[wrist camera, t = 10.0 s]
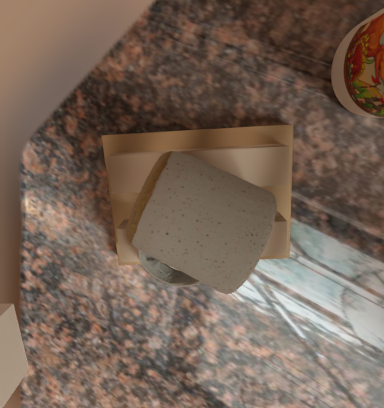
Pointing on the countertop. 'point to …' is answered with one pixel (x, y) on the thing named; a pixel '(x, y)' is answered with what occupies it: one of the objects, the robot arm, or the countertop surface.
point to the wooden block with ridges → (212, 154)
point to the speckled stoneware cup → (200, 224)
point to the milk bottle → (361, 68)
